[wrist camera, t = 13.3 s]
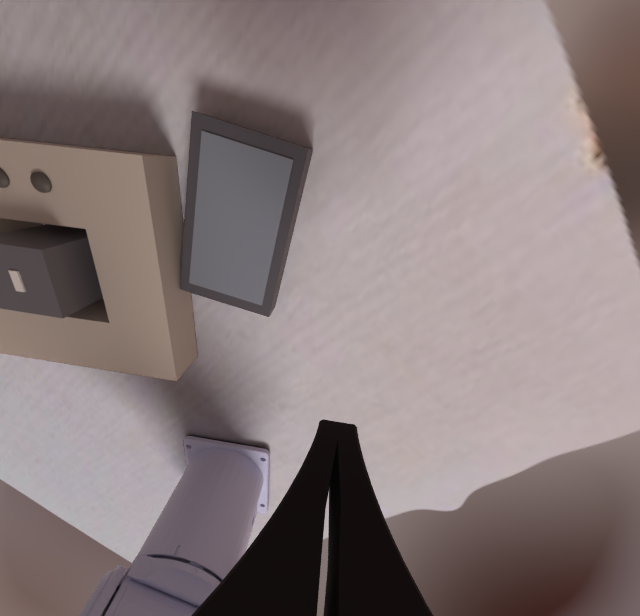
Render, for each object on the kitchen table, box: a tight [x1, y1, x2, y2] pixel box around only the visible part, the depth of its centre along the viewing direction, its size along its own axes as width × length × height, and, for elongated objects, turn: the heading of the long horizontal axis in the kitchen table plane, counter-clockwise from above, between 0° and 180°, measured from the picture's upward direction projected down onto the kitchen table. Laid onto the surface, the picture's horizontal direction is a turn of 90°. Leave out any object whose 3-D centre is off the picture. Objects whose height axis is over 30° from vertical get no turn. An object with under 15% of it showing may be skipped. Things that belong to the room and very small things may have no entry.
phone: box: [180, 111, 313, 317], centre depth 18 cm, size 10×6×2 cm, turn 164°
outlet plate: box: [0, 138, 198, 381], centre depth 19 cm, size 14×14×3 cm
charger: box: [0, 224, 103, 318], centre depth 18 cm, size 4×4×5 cm
